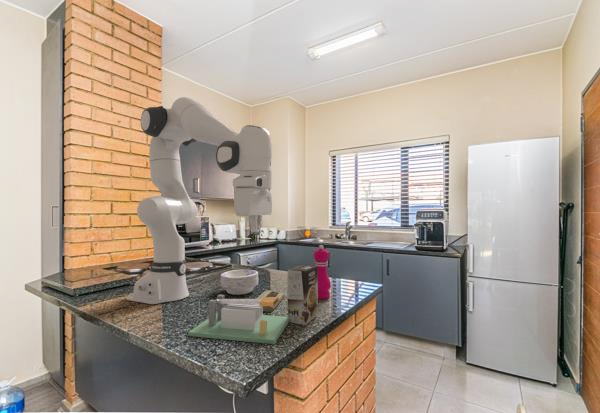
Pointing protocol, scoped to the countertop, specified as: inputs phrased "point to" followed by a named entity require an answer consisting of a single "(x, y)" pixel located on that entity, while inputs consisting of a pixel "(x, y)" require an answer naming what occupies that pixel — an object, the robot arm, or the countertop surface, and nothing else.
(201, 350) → the countertop surface
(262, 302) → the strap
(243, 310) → the heatsink board
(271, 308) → the computer
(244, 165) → the robot arm
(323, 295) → the pepper mill
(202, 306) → the countertop surface
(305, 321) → the coffee box
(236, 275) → the paper bowls
